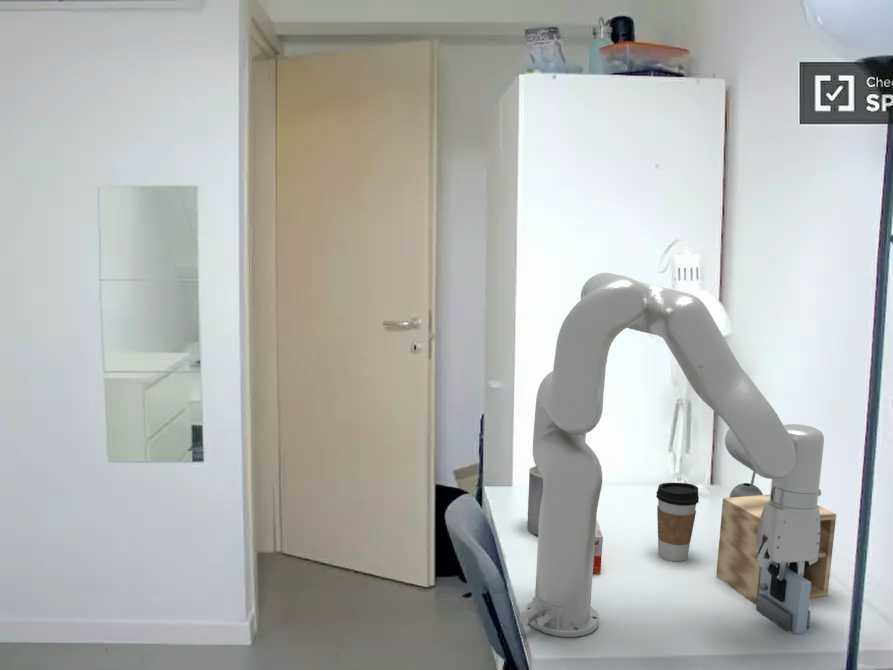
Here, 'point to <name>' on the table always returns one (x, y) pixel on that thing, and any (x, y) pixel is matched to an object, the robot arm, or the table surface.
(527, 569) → the table surface
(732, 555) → the cabinet
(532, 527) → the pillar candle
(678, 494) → the coffee cup
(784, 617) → the hinge clips
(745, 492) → the beverage cup
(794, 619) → the door panel
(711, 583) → the table surface
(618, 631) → the table surface
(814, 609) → the table surface
